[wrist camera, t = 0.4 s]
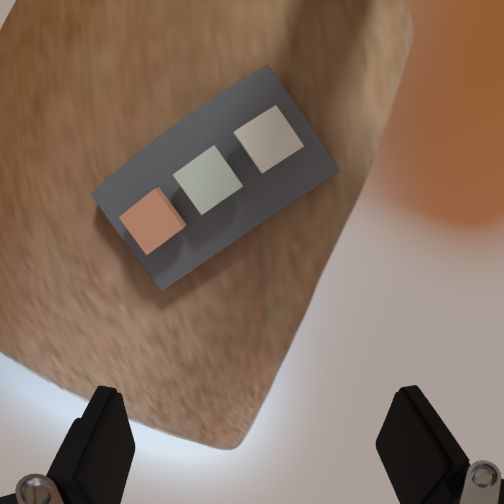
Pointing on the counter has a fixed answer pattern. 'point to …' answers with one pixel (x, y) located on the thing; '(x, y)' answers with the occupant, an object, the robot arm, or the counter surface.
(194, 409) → the counter surface
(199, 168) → the sage key
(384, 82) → the counter surface
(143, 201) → the terracotta key
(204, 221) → the keypad
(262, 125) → the cream key
